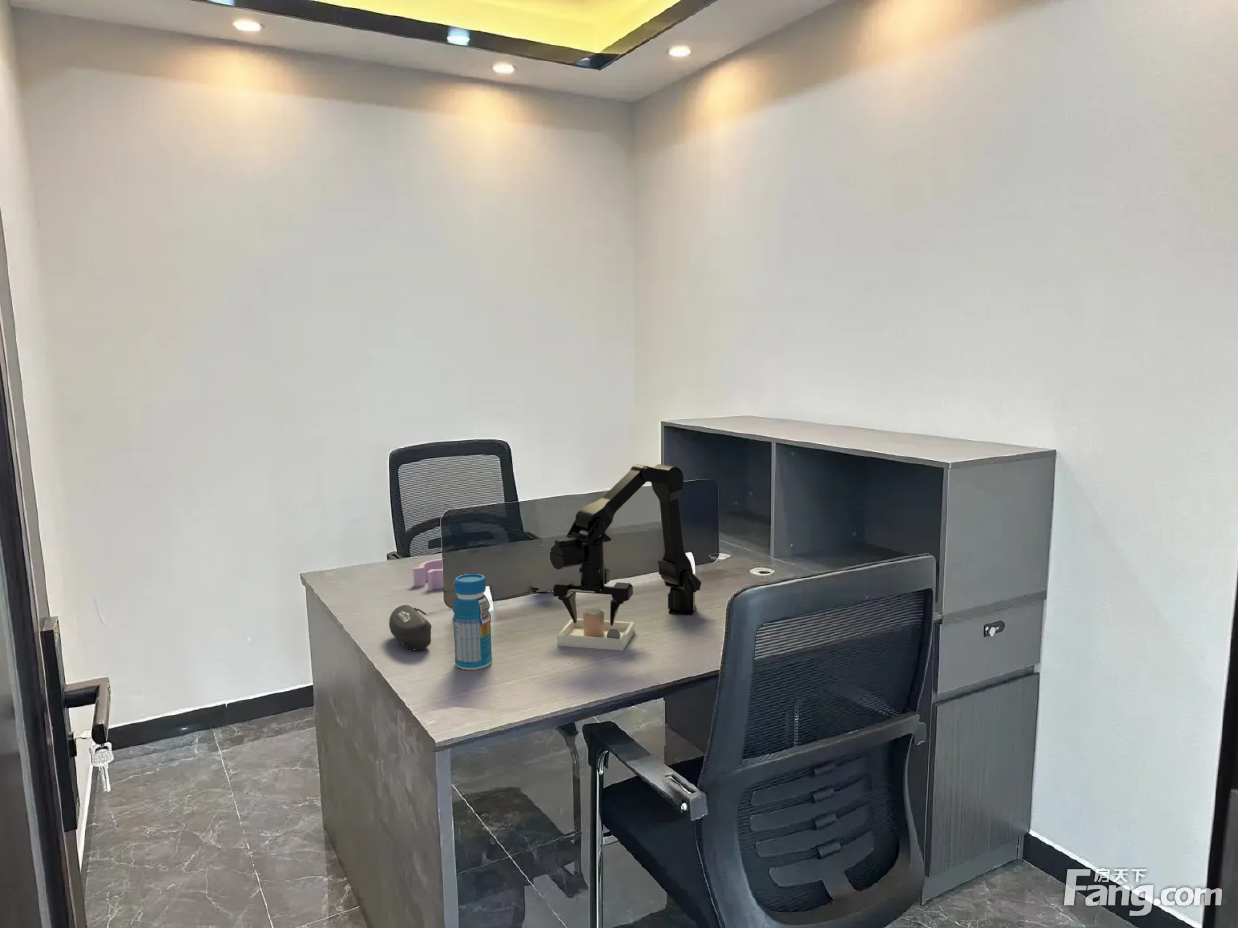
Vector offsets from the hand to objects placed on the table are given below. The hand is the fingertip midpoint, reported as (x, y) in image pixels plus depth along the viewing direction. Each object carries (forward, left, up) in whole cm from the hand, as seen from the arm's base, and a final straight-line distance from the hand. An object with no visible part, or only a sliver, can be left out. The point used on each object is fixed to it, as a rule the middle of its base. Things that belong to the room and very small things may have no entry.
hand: (593, 623), depth 190 cm
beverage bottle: (+22, +21, -4) cm, 31 cm away
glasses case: (+41, +12, -4) cm, 43 cm away
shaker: (0, 0, -3) cm, 3 cm away
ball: (-6, +4, -3) cm, 8 cm away
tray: (-1, +1, -3) cm, 4 cm away
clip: (+54, -32, -4) cm, 63 cm away
